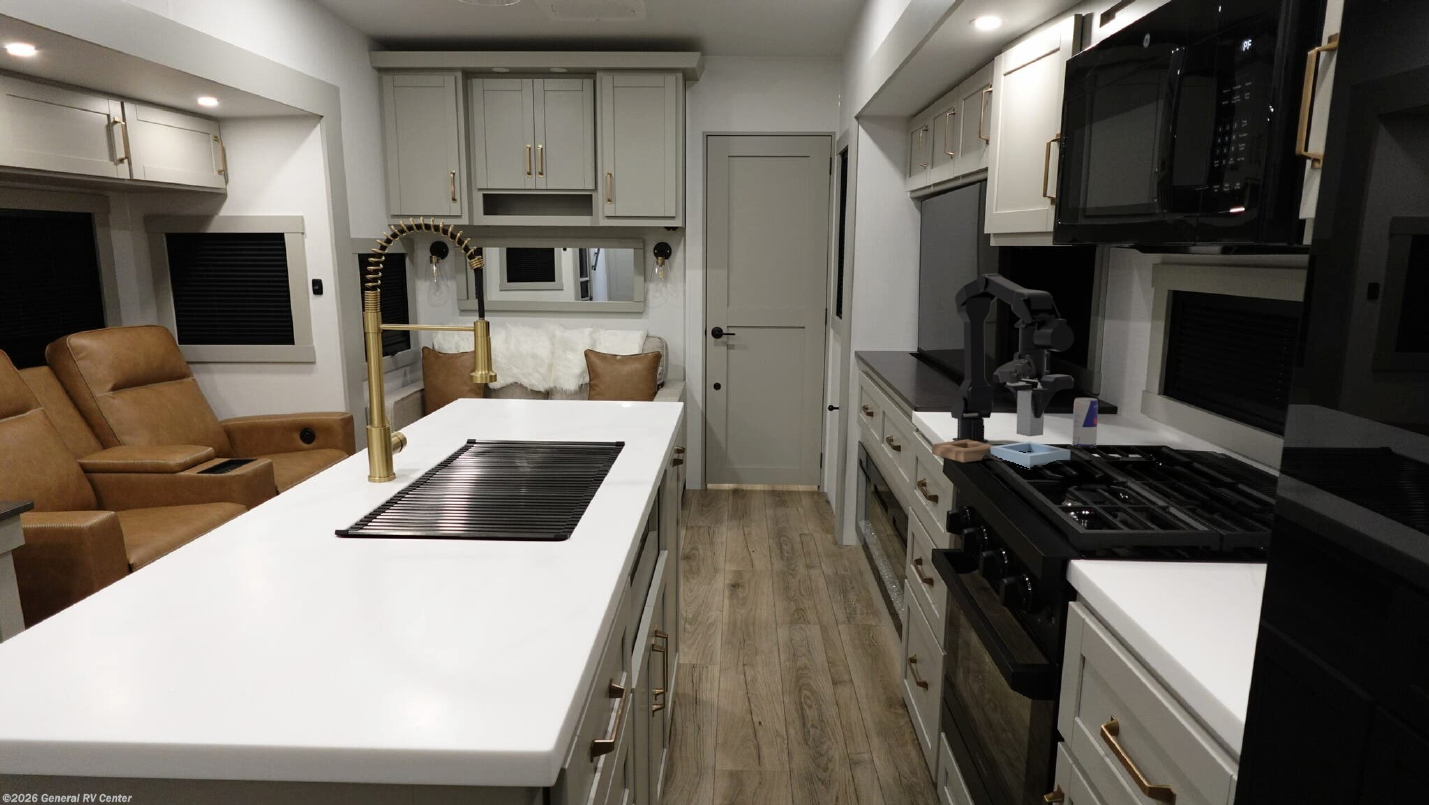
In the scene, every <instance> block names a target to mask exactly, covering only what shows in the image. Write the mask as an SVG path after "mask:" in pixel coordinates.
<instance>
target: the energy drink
mask: <svg viewBox="0 0 1429 805" xmlns="http://www.w3.org/2000/svg"><path fill="white" fill-rule="evenodd" d="M1098 401H1099V400H1098V399H1097V398H1095V397H1094V398H1093V397H1075V399H1074V402H1073V414H1072V415H1073V417H1072V421H1073V422H1072V424H1073V425H1072V443H1071V445H1078V446H1096V447H1097V439H1098V438H1097V437H1098V436H1097V435H1098V416H1099V414H1098V412H1099V402H1098Z"/></svg>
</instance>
